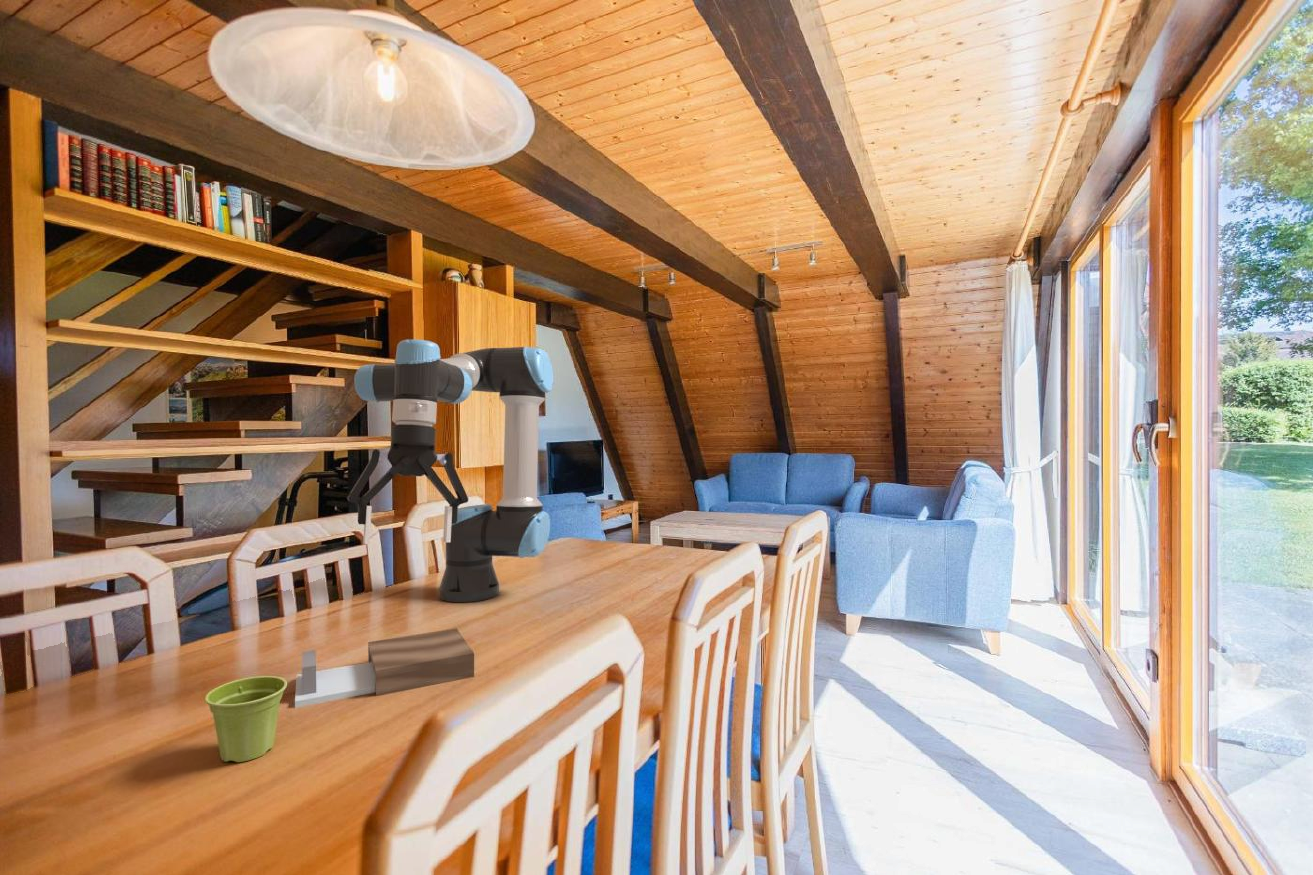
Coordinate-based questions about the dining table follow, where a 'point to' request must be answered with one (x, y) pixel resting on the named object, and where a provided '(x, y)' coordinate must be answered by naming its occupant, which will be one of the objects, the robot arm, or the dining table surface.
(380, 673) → the walnut case
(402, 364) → the robot arm
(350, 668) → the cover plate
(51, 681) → the dining table surface
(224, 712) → the plant pot
